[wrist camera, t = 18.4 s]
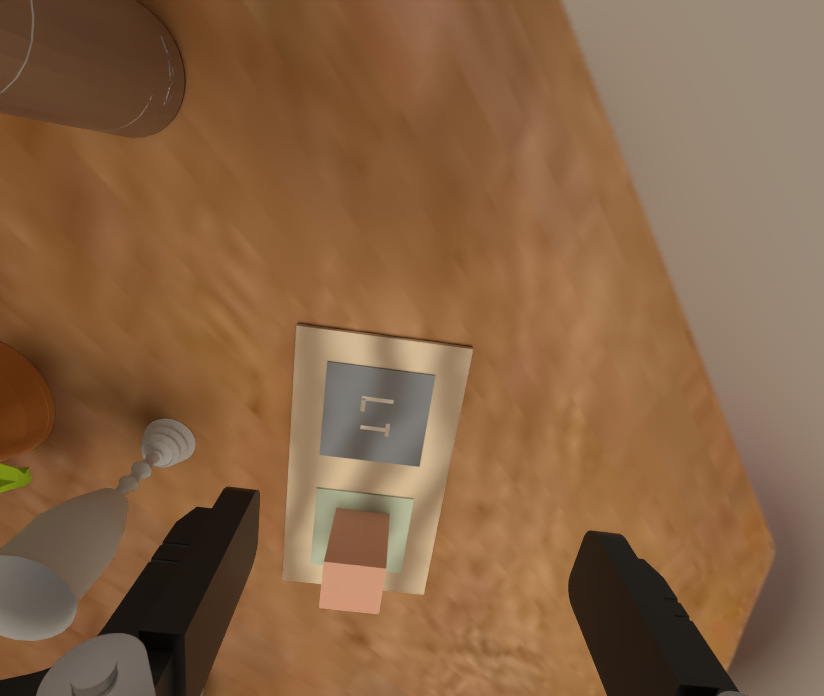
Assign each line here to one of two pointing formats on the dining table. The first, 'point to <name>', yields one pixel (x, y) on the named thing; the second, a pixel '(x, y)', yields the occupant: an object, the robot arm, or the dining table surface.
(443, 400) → the board
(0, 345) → the decorative plant
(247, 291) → the dining table surface
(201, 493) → the dining table surface
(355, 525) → the terracotta block
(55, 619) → the chalice
